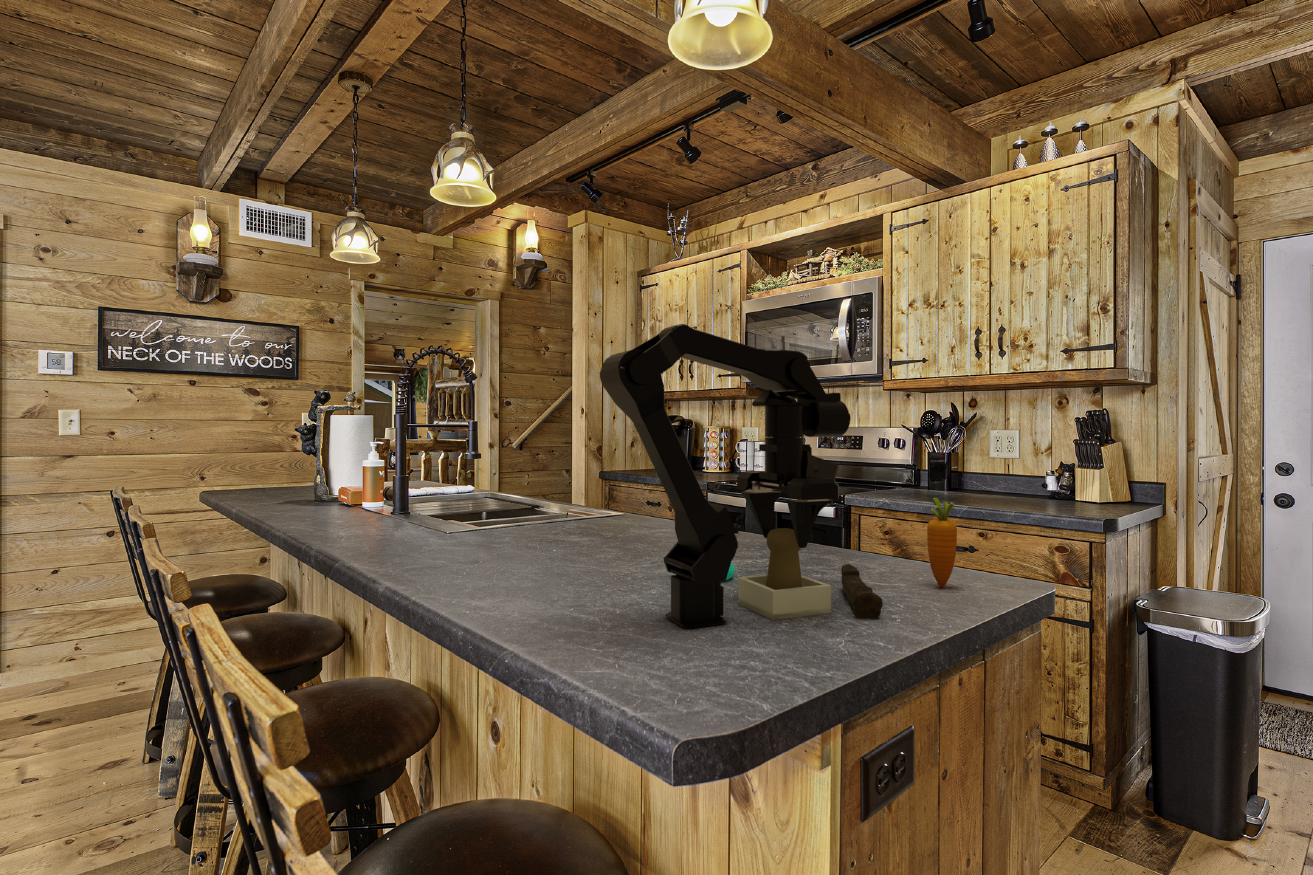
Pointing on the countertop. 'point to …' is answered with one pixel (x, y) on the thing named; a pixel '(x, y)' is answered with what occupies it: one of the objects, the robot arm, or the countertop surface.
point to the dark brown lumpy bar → (860, 594)
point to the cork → (783, 560)
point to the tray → (784, 598)
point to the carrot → (942, 543)
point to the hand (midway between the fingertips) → (784, 542)
